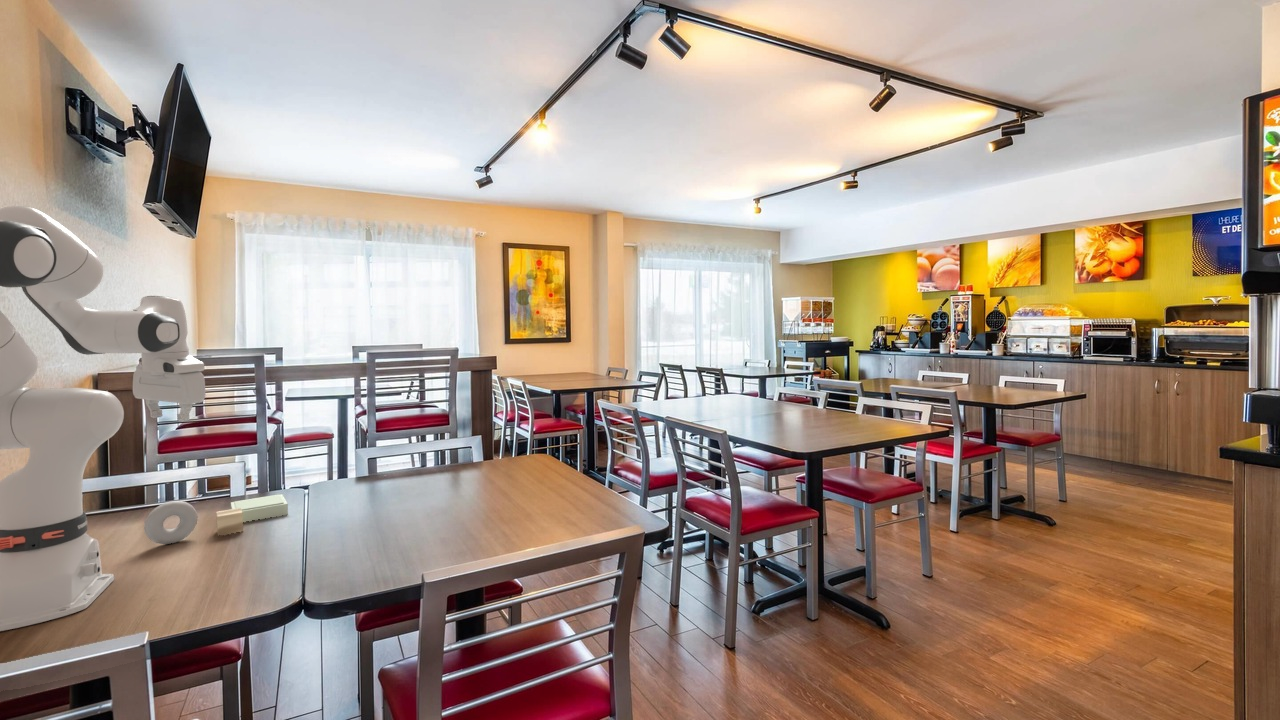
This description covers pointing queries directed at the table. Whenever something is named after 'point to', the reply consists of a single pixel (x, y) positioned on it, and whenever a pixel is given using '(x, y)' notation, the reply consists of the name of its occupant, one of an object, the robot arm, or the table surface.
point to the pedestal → (262, 507)
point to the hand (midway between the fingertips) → (170, 418)
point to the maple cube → (229, 521)
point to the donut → (160, 513)
